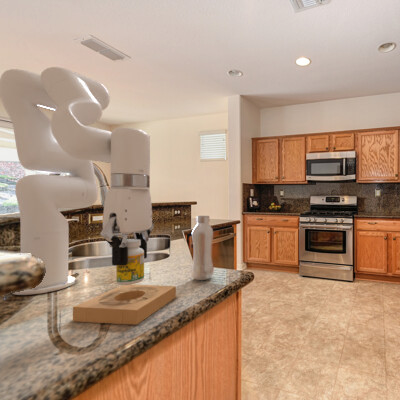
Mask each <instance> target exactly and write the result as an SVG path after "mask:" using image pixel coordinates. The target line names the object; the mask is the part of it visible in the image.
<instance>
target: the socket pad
mask: <svg viewBox="0 0 400 400" xmlns="http://www.w3.org/2000/svg"><path fill="white" fill-rule="evenodd" d="M176 294H177V286H176V285H156V284H155V285H154V284H131V285H119V286H117V287H115V288H113V289H110V290H108V291H106V292H103V293H102V294H99V295H97V296H95V297H93V298H90V299H87V300H85V301H83V302H81V303H79V304H76V305H74V306H72V322H80V323H82V322H83V323H96V324H97V323H98V324H113V325H114V324H116V325H135V326H137V325H138V324H140V323H141V322H143V321H144V320H146V319H147V318H148V317H151V315H154V313H156V312H157V311H158V310H160V309H161V308H163V307H164V306H166V305H167V304H169V303H170V302H172V301H173V300H175V299H176V298H177V295H176Z"/></svg>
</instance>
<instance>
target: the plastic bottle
mask: <svg viewBox="0 0 400 400" xmlns="http://www.w3.org/2000/svg"><path fill="white" fill-rule="evenodd" d="M210 221H211V220H210V215H196V221H195V222H196V225H195V226H194V227H193V229H192V231H191V239H192V248H193V259H192V266H191V277H192V278H193V280H197V281H205V280H209V279H211V278H213V275H214V271H215V269H214V263H213V254H212V253H213V242H214V241H213V240H214V233H215V232H214V229H213V227H212V226H211V225H210Z"/></svg>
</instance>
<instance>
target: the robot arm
mask: <svg viewBox="0 0 400 400" xmlns="http://www.w3.org/2000/svg"><path fill="white" fill-rule="evenodd" d="M110 100H111V96H110V93H109V90H108V88H106V86H105V85H104V84H103V83H102V82H100V81H98V80H96V79H94V78H90V77H87V76H85V75H83V74H80V73H77V72H76V71H73V70H70V69H68V68H64V67H60V66H50V67H47V68H45V69H44V70H43V71H42V72H41V73H40V74H39V73H36V72H33V71H28V70H24V69H18V68H10V69H7V70H5V71H3V73H2V74H1V76H0V101H1V103H2V105H3V107H4V109H5V112H6V113H7V115H8V117H9V120H10V121H11V124H12V127H13V135H14V140H15V141H14V142H15V148H16V153H17V158H18V161H19V163H20V165H21V166H22V167H23V168H24V169H25V170H28V171H32V172H37V173H36V174H29V175H25V176H23V177H20V179H18V181H16V184H15V187H14V189H15V190H14V192H15V196H16V201H17V206H18V210H19V220H20V221H19V222H20V254H21V253H31V254H32V255H34V256H36V257H38V258H39V259H41V260H42V261H43V262H44V264H45V268H46V273H45V276H44V278H43V280H42V282H41V283H40V284H39V285H38V286H36V287H35V288H32V289H27V290H24V291H20V292H15V293H12V295H16V296H31V295H40V294H45V293H52V292H55V291H60V290H62V289H65V288H68V287H71V286H73V285H74V284H76V277H75V276H71V275H70V276H69V249H70V248H69V246H70V245H69V243H70V240H69V239H70V237H69V236H70V235H69V234H70V233H69V232H70V229H69V227H70V226H69V222H68V220H67V218H66V217H65V216H64V215H63V214H62V213H61V212H60V209H83V208H89V207H92V206H94V204H96V202H97V200H98V195H99V191H98V190H99V189H98V184H97V179H96V172H95V169H94V168H95V167H94V163H93V162H101V163H106V164H110V188H107V191H106V194H105V199H104V205H103V214H102V230H100V236H101V237H102V238H103V239H104V240H105V241H106V242H107V244H108V245H109V247H110V248H111V265H112V266H116V265H120V266H125V265H127V264H128V247H125V245H126V241H127V240H128V238H129V237H128V236H129V234H133V239H140V240H141V245H140V246H139V248H142V249H143V250H144V260H145V259H147V258H148V242H149V239H150V235H151V233H152V231H153V229H154V228H155V224H154V222H153V206H152V205H153V204H152V197H151V192H150V191H151V188H150V187H151V185H150V184H151V182H150V181H151V179H150V178H151V177H150V176H151V138H150V135H149V134H148V133H147V132H146V131H144V130H143V129H138V128H133V127H123V126H121V127H115V128H114V129H112V130H111V131H110V130H106V129H101V128H98V127H94V126H91V125H93V124H95V123H97V122H98V121H100V119H101V118H102V116H103V112H104V110H106V109H107V108H108V107H109V105H110V102H111V101H110ZM39 107H41V108H46V109H50V110H53V113H52V115H51V119H50V117H49V116H48V115H47V114H46V113H45V112H44V111H42V110H41V109H40V108H39ZM38 172H39V173H41V174H38ZM42 173H43V174H42ZM44 173H48V174H44ZM56 174H58V175H56ZM59 174H61V175H59Z"/></svg>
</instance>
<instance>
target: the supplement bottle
mask: <svg viewBox="0 0 400 400" xmlns="http://www.w3.org/2000/svg"><path fill="white" fill-rule="evenodd" d="M140 245H141V240H140V239H135V238H130V239H127V241H126V245H125V247H128V264H127V265H125V266H120V265H115V268H116V271H115V275H116V277H115V280H116V284H117V285H119V286H122V285H131V284H133V285H136V284H138V283H141V282H143V281H144V279H145V259H144V250H143V249H142V248H139V246H140Z"/></svg>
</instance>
